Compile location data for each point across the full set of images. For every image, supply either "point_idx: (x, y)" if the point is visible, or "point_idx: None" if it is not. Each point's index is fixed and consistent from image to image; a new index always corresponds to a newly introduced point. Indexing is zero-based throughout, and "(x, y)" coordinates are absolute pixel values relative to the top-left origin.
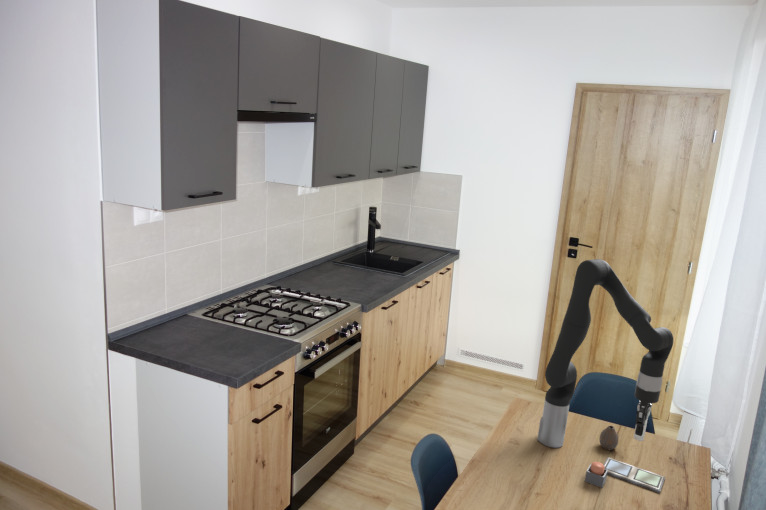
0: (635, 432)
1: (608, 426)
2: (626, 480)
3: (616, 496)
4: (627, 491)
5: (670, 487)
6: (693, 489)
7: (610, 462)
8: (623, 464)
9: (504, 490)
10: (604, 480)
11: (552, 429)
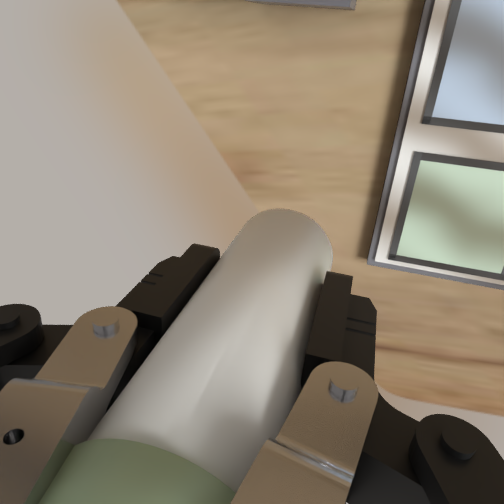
0: (190, 250)
1: None
2: (399, 117)
3: (231, 84)
4: (303, 129)
5: (445, 302)
6: (474, 380)
7: None
8: None
9: None
10: (288, 4)
11: None
